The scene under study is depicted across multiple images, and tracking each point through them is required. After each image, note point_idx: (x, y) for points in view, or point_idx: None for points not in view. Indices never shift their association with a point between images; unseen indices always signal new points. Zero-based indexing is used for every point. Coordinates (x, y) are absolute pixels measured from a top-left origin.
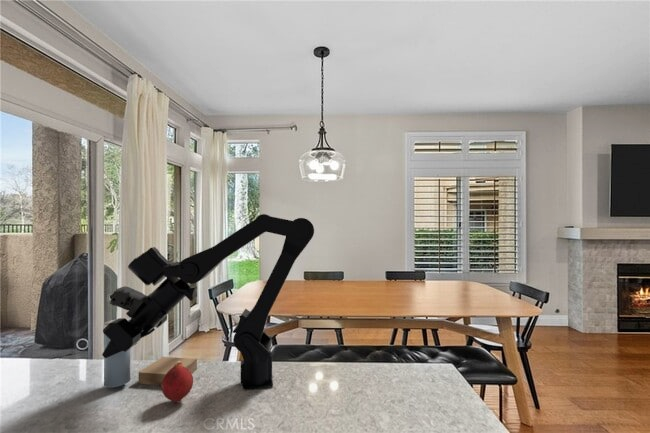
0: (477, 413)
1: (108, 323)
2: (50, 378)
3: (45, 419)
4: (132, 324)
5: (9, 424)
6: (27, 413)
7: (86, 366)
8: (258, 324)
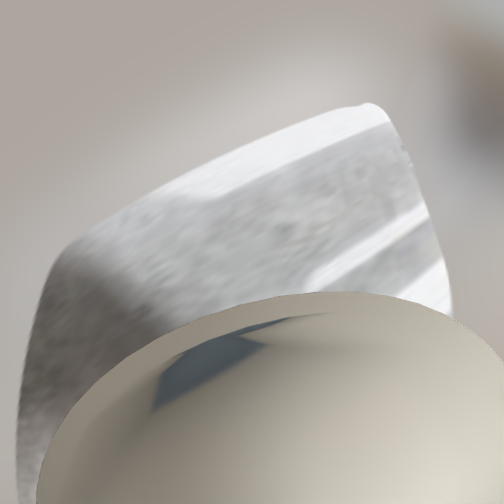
0: None
1: (243, 432)
2: (312, 192)
3: (61, 320)
4: None
5: (64, 251)
6: (103, 257)
7: (397, 238)
8: None
